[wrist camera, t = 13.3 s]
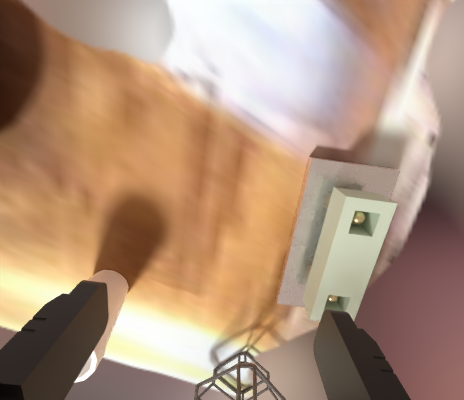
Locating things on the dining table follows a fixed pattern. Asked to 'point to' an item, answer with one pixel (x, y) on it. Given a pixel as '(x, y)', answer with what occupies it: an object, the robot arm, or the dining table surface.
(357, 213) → the board with brass pegs
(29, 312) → the dining table surface
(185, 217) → the dining table surface
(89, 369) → the foam cup
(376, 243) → the bar
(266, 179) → the dining table surface
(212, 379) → the geometric lantern
